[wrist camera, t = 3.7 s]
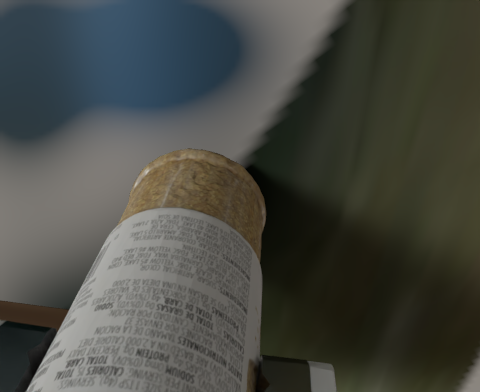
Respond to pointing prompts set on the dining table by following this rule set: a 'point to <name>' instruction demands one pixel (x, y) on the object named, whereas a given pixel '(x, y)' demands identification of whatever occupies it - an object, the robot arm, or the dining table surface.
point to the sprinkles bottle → (170, 288)
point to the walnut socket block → (32, 314)
